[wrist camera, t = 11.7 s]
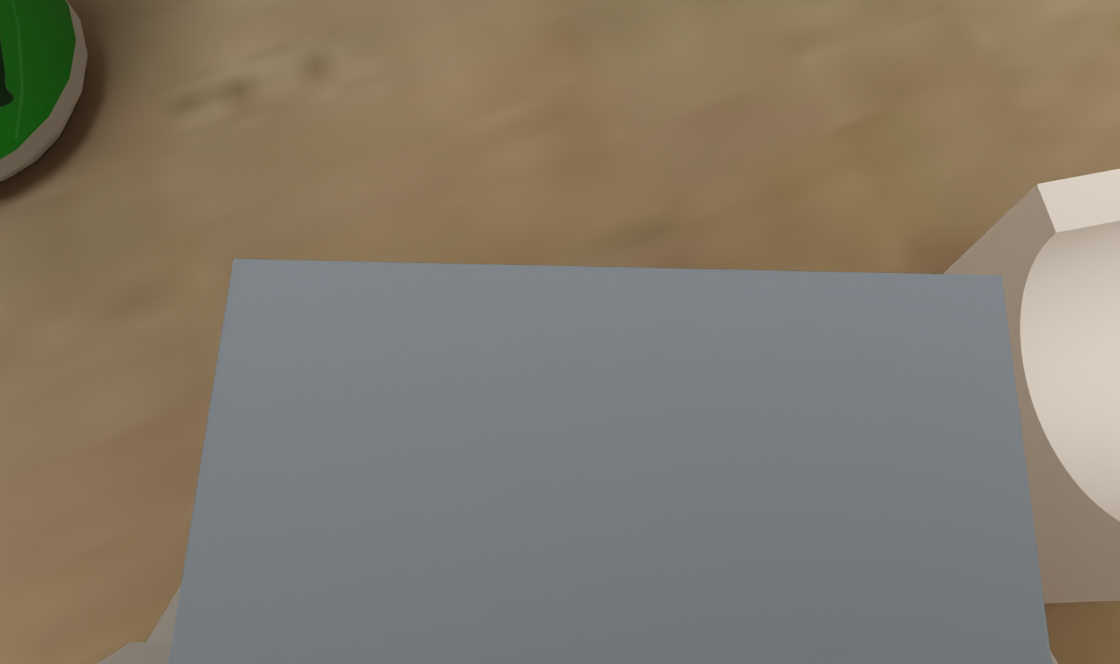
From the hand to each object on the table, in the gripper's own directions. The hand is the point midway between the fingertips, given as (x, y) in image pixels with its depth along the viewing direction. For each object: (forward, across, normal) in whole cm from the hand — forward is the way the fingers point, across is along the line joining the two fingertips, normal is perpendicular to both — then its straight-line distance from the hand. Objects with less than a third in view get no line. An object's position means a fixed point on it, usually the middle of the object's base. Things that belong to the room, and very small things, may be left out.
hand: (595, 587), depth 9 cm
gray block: (+3, 0, +4) cm, 5 cm away
